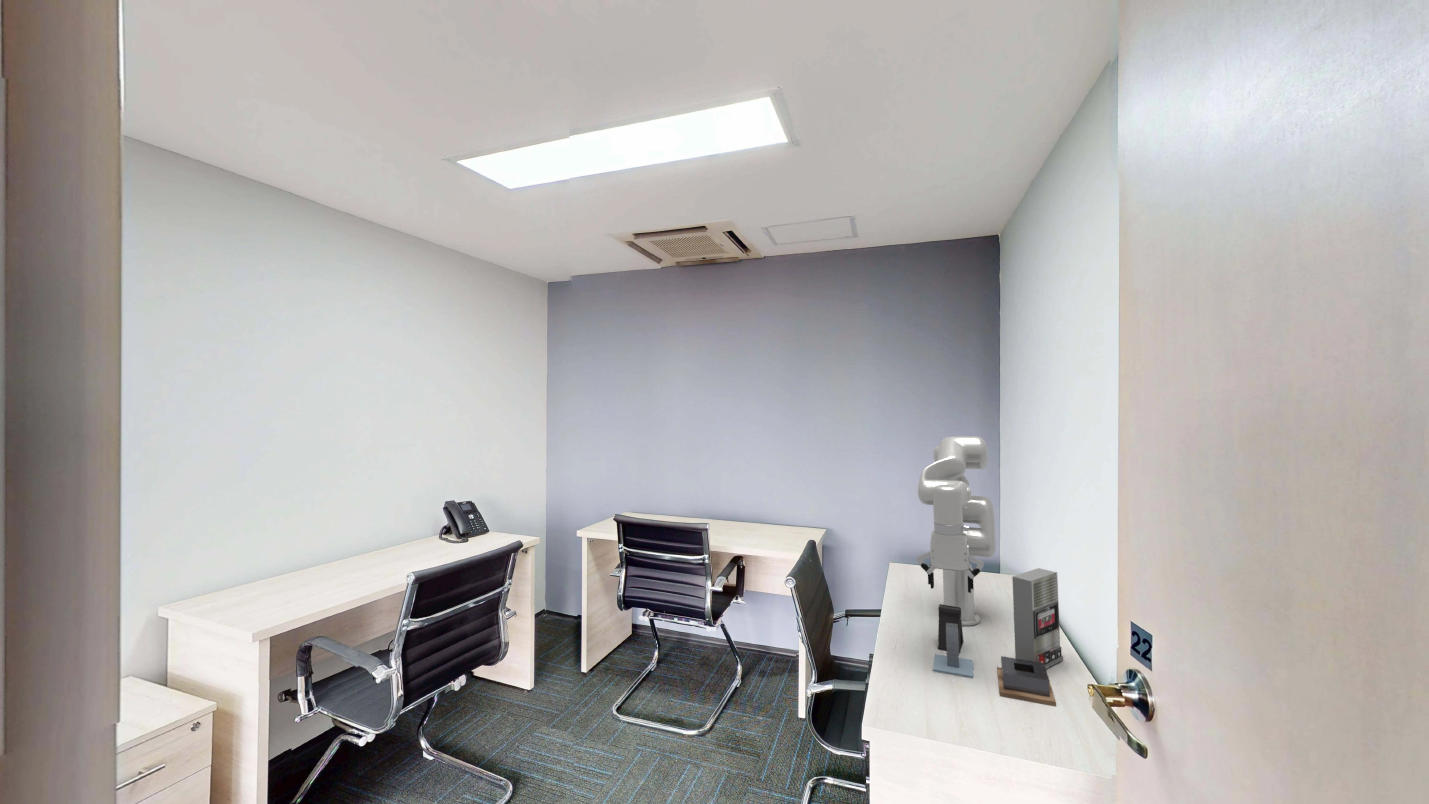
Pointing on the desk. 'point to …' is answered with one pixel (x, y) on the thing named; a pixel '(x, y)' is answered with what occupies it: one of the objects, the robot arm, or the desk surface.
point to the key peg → (952, 645)
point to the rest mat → (963, 670)
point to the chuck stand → (1023, 695)
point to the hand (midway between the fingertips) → (950, 589)
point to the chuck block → (1025, 676)
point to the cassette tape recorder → (1037, 617)
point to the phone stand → (949, 616)
